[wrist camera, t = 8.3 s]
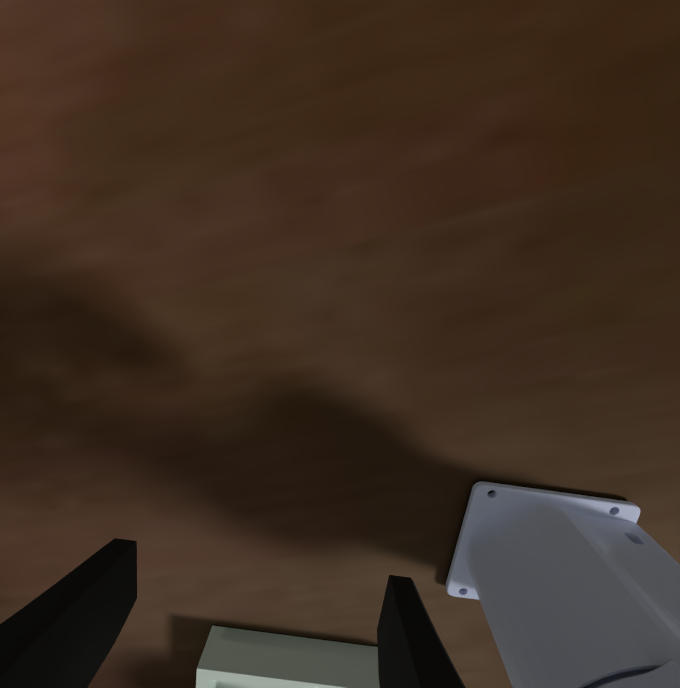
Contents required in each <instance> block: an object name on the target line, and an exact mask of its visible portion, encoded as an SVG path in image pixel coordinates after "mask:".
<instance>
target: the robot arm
mask: <svg viewBox="0 0 680 688" xmlns="http://www.w3.org/2000/svg"><path fill="white" fill-rule="evenodd" d="M491 490H494V491H493V492H492V493H490V494H488V492H489V491H491ZM611 508H613V509H611ZM639 515H640V508H639V507H637V506H636V505H635V504H634V503H632V502H628V501H621V500H614V499H607V498H599V497H592V496H585V495H578V494H570V493H563V492H556V491H549V490H541V489H534V488H527V487H520V486H512V485H505V484H498V483H490V482H477V483H476V484H474V486H473V487H472V491H471V494H470V498H469V502H468V505H467V509H466V512H465V516H464V520H463V523H462V527H461V530H460V534H459V538H458V541H457V545H456V548H455V552H454V556H453V559H452V563H451V567H450V570H449V574H448V577H447V581H446V590H447V593H448V594H449V595H451V596H455V597H463V598H471V599H478V600H480V602H481V605H482V608H483V610H484V613H485V616H486V618H487V621H488V624H489V626H490V629H491V632H492V634H493V637H494V640H495V642H496V645H497V648H498V650H499V653H500V656H501V658H502V661H503V664H504V666H505V669H506V672H507V674H508V677H509V680H510V682H511V685H512V687H513V688H680V564H679V563H678V562H677V561H676V560H674V559H673V558H672V557H671V556H670V555H669V554H668V553H667V552H666V551H665V550H664V549H663V548H662V547H661V546H660V545H659V544H658V543H657V542H655V541H654V540H653V539H652V538H651V537H650V536H649V535H648V534H647V533H646V532H645V531H644V530H643V529H642V528H641V527H640V526H639V525H638V524H636V522H637V520H638V517H639ZM462 588H463V589H462ZM136 599H137V541H131V540H124V539H116V538H115V539H113V540H112V541H111V542H109V543H108V544H107V545H105V546H104V547H103V548H101V549H100V550H99V551H97V552H96V553H95V554H94V555H92V556H91V557H90V558H88V559H87V560H86V561H84V562H83V563H82V564H81V565H79V566H78V567H77V568H75V569H74V570H73V571H72V572H70V573H69V574H68V575H66V576H65V577H64V578H62V579H61V580H60V581H58V582H57V583H56V584H54V585H53V586H52V587H50V588H49V589H48V590H46V591H45V592H44V593H42V594H41V595H40V596H38V597H37V598H36V599H34V600H33V601H32V602H30V603H29V604H28V605H26V606H25V607H24V608H22V609H21V610H19V611H18V612H17V613H15V614H14V615H13V616H11V617H10V618H8V619H7V620H5V621H4V622H3V623H1V624H0V688H87V687H88V685H89V684H90V682H91V681H92V679H93V677H94V676H95V674H96V672H97V671H98V669H99V668H100V666H101V664H102V663H103V661H104V659H105V658H106V656H107V654H108V653H109V651H110V650H111V648H112V646H113V645H114V643H115V641H116V639H117V637H118V635H119V633H120V631H121V629H122V627H123V625H124V623H125V621H126V619H127V617H128V615H129V613H130V611H131V609H132V607H133V605H134V603H135V601H136ZM377 641H378V675H379V685H380V688H465V686H464V684H463V682H462V680H461V678H460V677H459V675H458V673H457V671H456V669H455V667H454V665H453V663H452V661H451V660H450V658H449V656H448V654H447V652H446V650H445V648H444V646H443V644H442V642H441V640H440V638H439V636H438V634H437V632H436V630H435V628H434V626H433V624H432V622H431V620H430V618H429V615H428V613H427V611H426V609H425V607H424V605H423V602H422V600H421V598H420V596H419V593H418V591H417V589H416V586H415V584H414V582H413V580H412V579H411V578H409V577H401V576H394V575H389V579H388V583H387V588H386V592H385V597H384V601H383V606H382V610H381V615H380V619H379V624H378V628H377Z"/></svg>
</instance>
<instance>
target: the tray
mask: <svg viewBox="0 0 680 688" xmlns="http://www.w3.org/2000/svg"><path fill="white" fill-rule="evenodd" d="M196 688H380V685H379V675H378V647H373V646H365V645H358V644H350V643H342V642H335V641H327V640H319V639H312V638H304V637H296V636H289V635H281V634H273V633H266V632H258V631H250V630H243V629H235V628H227V627H220V626H212V628H211V631H210V633H209V636H208V639H207V642H206V645H205V647H204V650H203V653H202V656H201V658H200V661H199V664H198V667H197V675H196Z"/></svg>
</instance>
